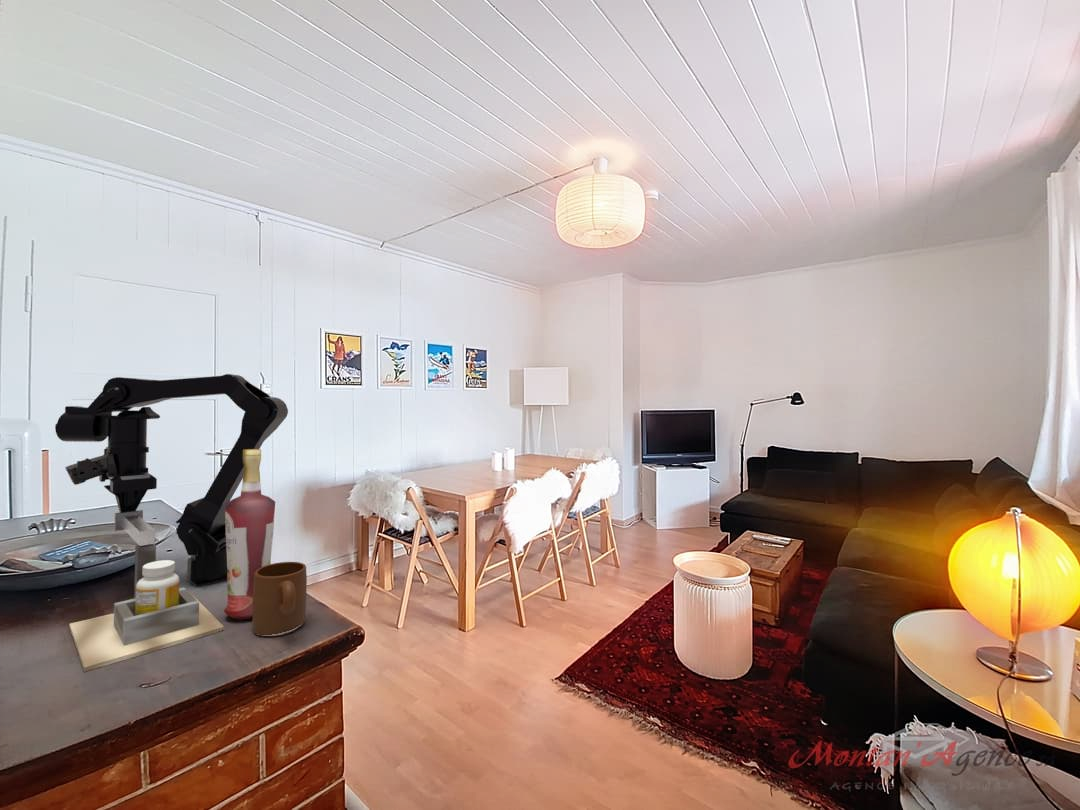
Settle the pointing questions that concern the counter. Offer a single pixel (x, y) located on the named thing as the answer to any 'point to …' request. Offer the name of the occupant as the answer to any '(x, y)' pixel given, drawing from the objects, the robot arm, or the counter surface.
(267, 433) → the robot arm
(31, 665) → the counter surface
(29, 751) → the counter surface
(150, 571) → the supplement bottle
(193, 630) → the socket board
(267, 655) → the counter surface
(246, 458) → the liquor
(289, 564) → the mug
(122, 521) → the keeper bolt
